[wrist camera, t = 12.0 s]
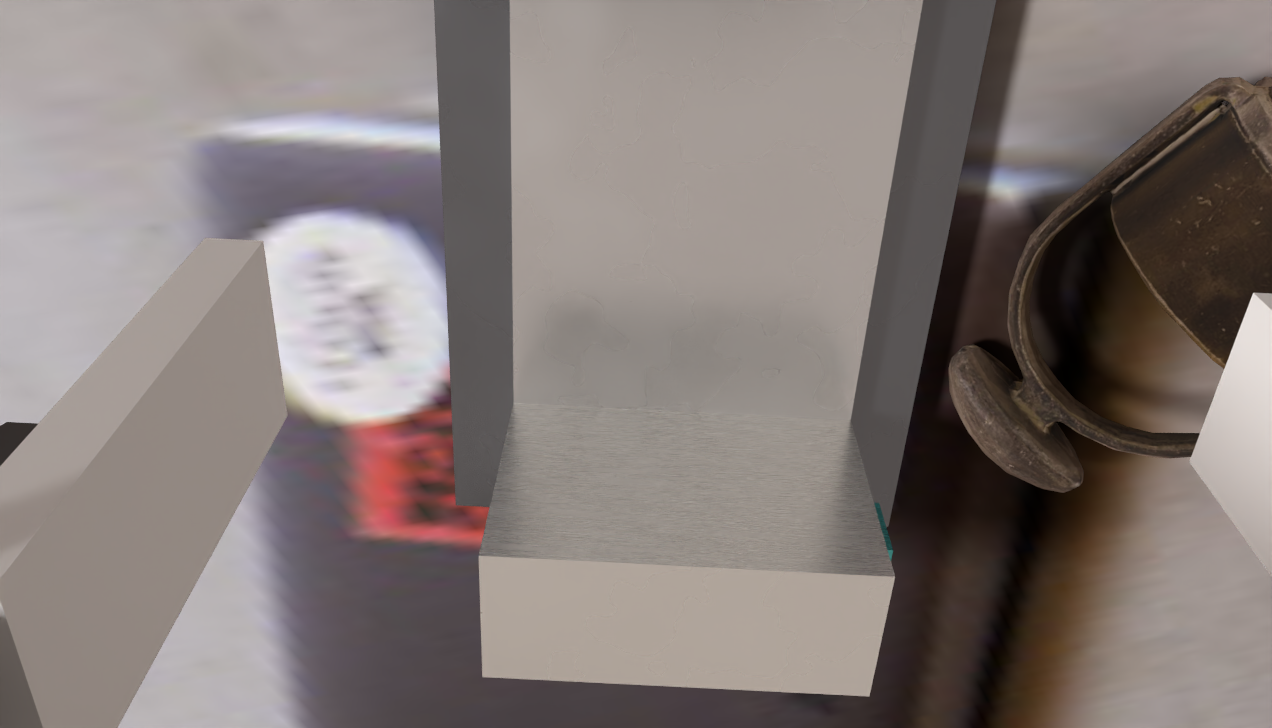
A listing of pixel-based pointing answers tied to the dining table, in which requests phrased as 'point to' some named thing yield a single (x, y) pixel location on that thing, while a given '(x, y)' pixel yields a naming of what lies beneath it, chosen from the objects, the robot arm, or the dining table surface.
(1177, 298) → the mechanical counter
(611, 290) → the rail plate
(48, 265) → the dining table surface
